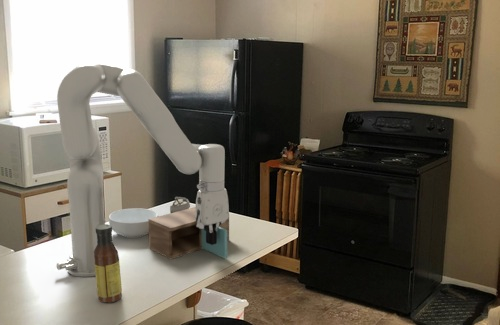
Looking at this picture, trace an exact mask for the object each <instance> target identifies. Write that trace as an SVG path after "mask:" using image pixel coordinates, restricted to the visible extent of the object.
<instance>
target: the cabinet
mask: <svg viewBox="0 0 500 325" xmlns="http://www.w3.org/2000/svg"><path fill="white" fill-rule="evenodd" d="M195 208H196V206H194V207H190V208H189V209H186V210H182V211H178V212H174V213H171V212H170V213H166V214H162V215H158V217H154V218H150V219H148V223H149V233H148V246H149V248H150V250H152V251H154V252H156V253H158V252H159V253H158V254H160V253H161V254H160V255H162V254H163V255H162V256H165V257H166V256H167V258H169V259H175V258H178V257H181V256H185V255H187V254H190V253H191V254H192V253H194V252H198V251H200V250H204V249H203V248H202V229H200V228H197V222H196V219H195ZM219 227H221V228H224V229H226V230H227V236H228V237H229V238H230V216H229V217H228V219H227V220H226V221H225V222H224V223H222V224H221V225H220V226H219ZM149 248H148V249H149Z"/></svg>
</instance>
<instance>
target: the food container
mask: <svg viewBox="0 0 500 325" xmlns="http://www.w3.org/2000/svg"><path fill="white" fill-rule="evenodd" d="M190 208H191V204H190V201H189V199H188V198H186V197H182V196H175V197H174V201H173V203H172V205H170V206H169V212H170V213H174V212H178V211H182V210H186V209H190Z"/></svg>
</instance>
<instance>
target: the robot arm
mask: <svg viewBox="0 0 500 325" xmlns="http://www.w3.org/2000/svg"><path fill="white" fill-rule="evenodd" d="M96 93H100V94H105V95H111V96H118V97H120V99H122V100H123V102H124V103H125V105H126V106H127V107H128V108H129V109H130V111H131V112H132V113H133V115H134V116H135V117H136V119H138V121H139V122H140V124H141V125H142V126H143V128H144V129H145V130H146V132H147V133H148V134H149V135H150V136H151V137H152V138H153V140H155V142H156V143H157V145H159V147H160V148H161V150H162V151H163V152H164V153H165V155H166V156H167V157H168V158H169V160H170V161H171V162H172V164H173V165H174V166H175V168H176V169H177V170H178V171H179V173H182V174H185V175H193V174H196V173H197V172H198V174H199V176H198V178H199V179H198V181H199V182H198V184H196V188H197V189H198V191H197V194H196V199H195V207H196V208H195V219H196V222H197V228H200V229H204V230H205V231H206V243H208V244H211V245H214V244H216V243H217V231H218V230H219V226H220V225H221V224H222V223H224V222H225V221H226V220H227V219H228V217H229V218H230V211H229V209H230V208H229V207H230V206H229V196H228V191H227V189H226V188H225V167H226V166H225V160H226V156H225V155H226V154H225V153H226V152H225V147H224V146H223V145H221V144H217V143H208V144H207V143H206V144H199V143H197V144H196V143H191V141H190V140H189V139H188V137H187V135H186V134H185V133H184V131H183V130H182V129H181V128H180V126H179V125H178V123H177V122H176V119H175V117H174V116H173V114H172V113H171V112H170V110H169V109H168V107H167V106H166V105H165V103H164V102H163V101H162V100H161V98H160V97H159V96H158V94H157V93H156V92H155V90H154V89H153V88H152V86H151V85H150V84H149V82H148V81H147V80H146V79H145V76H143V75H142V73H141V72H140V71H137V70H136V69H134V68H133V69H131V68H125V67H121V66H115V65H110V64H105V63H100V62H96V61H86V62H83V63H81V64H79V65H78V66H76V67H75V68H73V69H72V70H71V71H69V72H68V73H67V74H66V75H65V76H64V77H63V79H62V80H61V82H60V84H59V87H58V90H57V97H56V98H57V100H56V101H57V109H58V117H59V125H60V132H61V140H62V147H63V151H64V153H65V154H66V155H67V160H68V164H69V174H68V175H67V181H66V182H67V183H66V184H67V185H66V187H67V195H68V204H69V205H68V206H69V207H68V208H69V220H70V231H71V233H70V234H71V249H72V252H71V253H72V255H69V259H66V260H65V261H61V262H56V268H57V270H58V271H60V270H64V269H65V271H68V273H69V274H71V275H72V276H74V277H82V278H86V277H88V278H89V277H96V273H95V264H94V263H95V259H94V250H95V248H96V246H97V233H96V227H97V226H99V225H103V224H106V220H105V218H106V217H105V204H104V203H105V202H104V168H103V160H102V155H101V154H102V153H101V146H100V141H99V135H98V133H97V130H96V129H95V127H94V125H93V119H92V110H91V106H90V104H91V102H90V101H91V98H92V96H93V95H94V94H96Z"/></svg>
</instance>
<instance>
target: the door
mask: <svg viewBox="0 0 500 325" xmlns="http://www.w3.org/2000/svg"><path fill="white" fill-rule="evenodd" d="M229 241H230V236H229V237H228V236H227V230H226V229H224V228H221V227H219V230H218V231H217V243H216V244H214V245H211V244H208V243H206V231H205V230H204V229H202V248H203V249H202V250H206V251H207V252H210V253H212V254H214V255H216V256H219V257H220V258H223V259H227V258H228V242H229Z"/></svg>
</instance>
